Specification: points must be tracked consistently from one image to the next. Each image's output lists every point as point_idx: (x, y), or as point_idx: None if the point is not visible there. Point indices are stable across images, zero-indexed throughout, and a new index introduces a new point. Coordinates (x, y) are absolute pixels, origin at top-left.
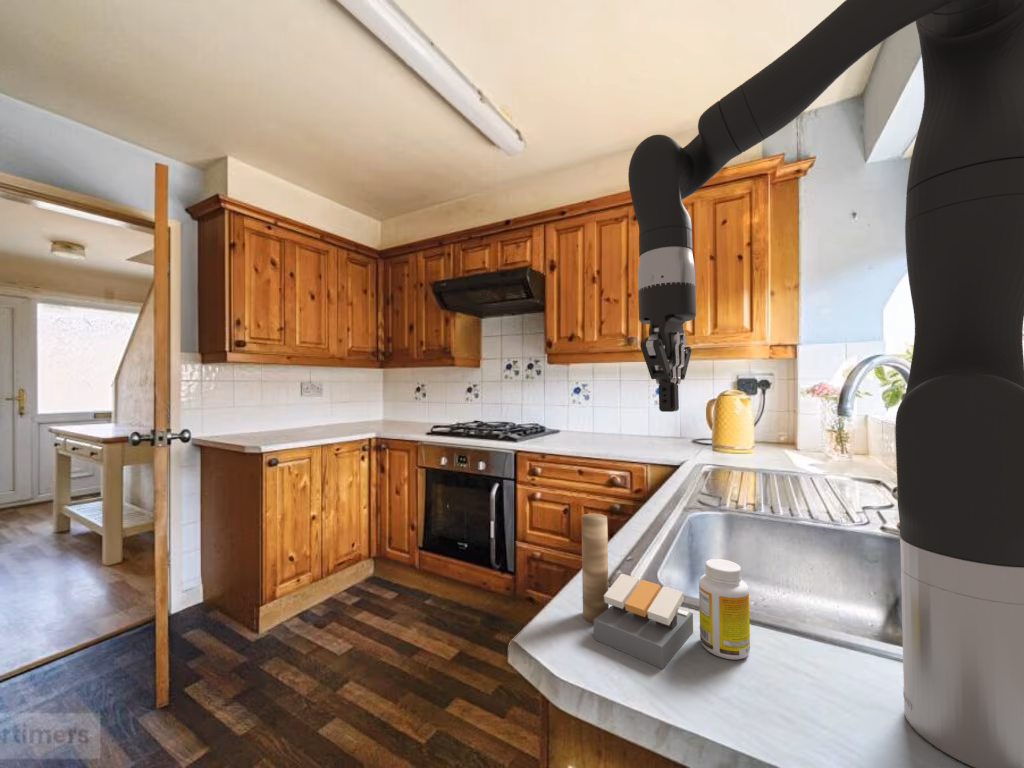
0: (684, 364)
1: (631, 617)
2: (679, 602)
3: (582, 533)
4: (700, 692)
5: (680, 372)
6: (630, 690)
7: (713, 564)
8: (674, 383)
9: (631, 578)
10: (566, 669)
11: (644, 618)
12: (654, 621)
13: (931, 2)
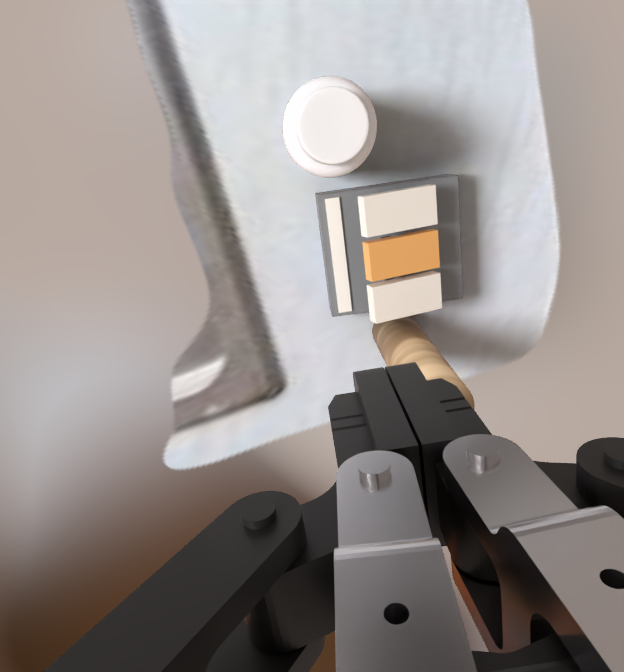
0: (211, 615)
1: None
2: (381, 193)
3: None
4: (458, 107)
5: (344, 522)
6: (521, 179)
7: (346, 142)
8: (480, 434)
9: (379, 299)
10: (541, 268)
11: None
12: None
13: None
